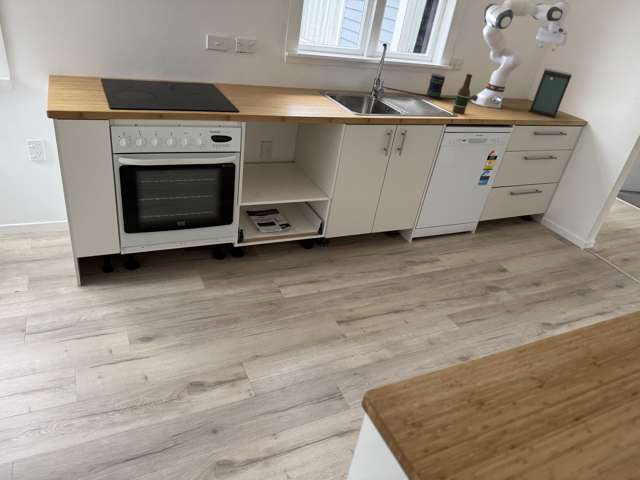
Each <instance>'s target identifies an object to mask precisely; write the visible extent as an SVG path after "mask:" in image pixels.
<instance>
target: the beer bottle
mask: <svg viewBox="0 0 640 480" xmlns="http://www.w3.org/2000/svg"><path fill="white" fill-rule="evenodd" d="M472 78H473V74H471V73H466V75H465V79H464V81H463V84H462V86H461V87H460V88H459V89H458V91H457V93H456V97H455V98H456V99H454V104H453V106H452V112H453V113H454V114H458V115H464V114H465V112H466V110H467V107H468V104H469V100H470V99H469V98H471V90H470V85H471V82H472Z"/></svg>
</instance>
